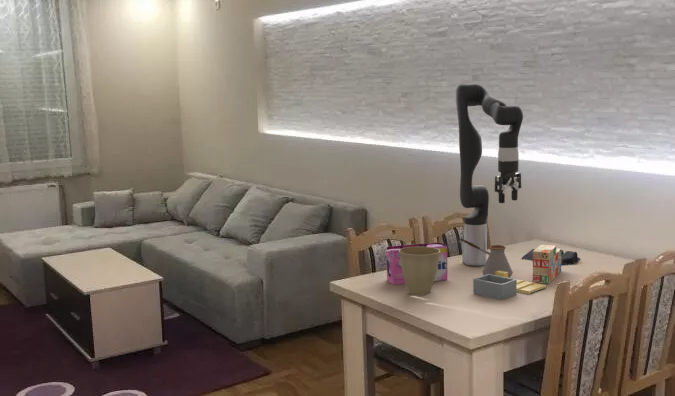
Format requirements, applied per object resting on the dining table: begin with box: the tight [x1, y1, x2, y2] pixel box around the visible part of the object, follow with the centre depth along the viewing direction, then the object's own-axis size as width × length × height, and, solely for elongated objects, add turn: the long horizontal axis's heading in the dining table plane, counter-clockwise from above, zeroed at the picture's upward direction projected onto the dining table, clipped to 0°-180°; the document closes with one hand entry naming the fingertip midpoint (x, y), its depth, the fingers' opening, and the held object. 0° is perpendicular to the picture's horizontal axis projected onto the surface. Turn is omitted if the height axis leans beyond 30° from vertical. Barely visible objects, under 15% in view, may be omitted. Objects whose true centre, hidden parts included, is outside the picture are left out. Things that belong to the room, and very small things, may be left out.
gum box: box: [385, 241, 448, 285], centre depth 278 cm, size 24×8×14 cm, turn 104°
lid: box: [495, 271, 547, 295], centre depth 262 cm, size 17×11×5 cm, turn 43°
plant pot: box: [399, 246, 440, 296], centre depth 259 cm, size 15×15×16 cm
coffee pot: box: [458, 238, 514, 278], centre depth 278 cm, size 21×12×15 cm, turn 59°
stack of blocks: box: [532, 244, 562, 284], centre depth 278 cm, size 21×6×12 cm, turn 151°
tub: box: [472, 274, 518, 301], centre depth 254 cm, size 12×9×6 cm
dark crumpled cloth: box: [521, 248, 581, 267], centre depth 306 cm, size 15×22×5 cm
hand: (508, 201), depth 273 cm, fingers open, 8 cm apart
